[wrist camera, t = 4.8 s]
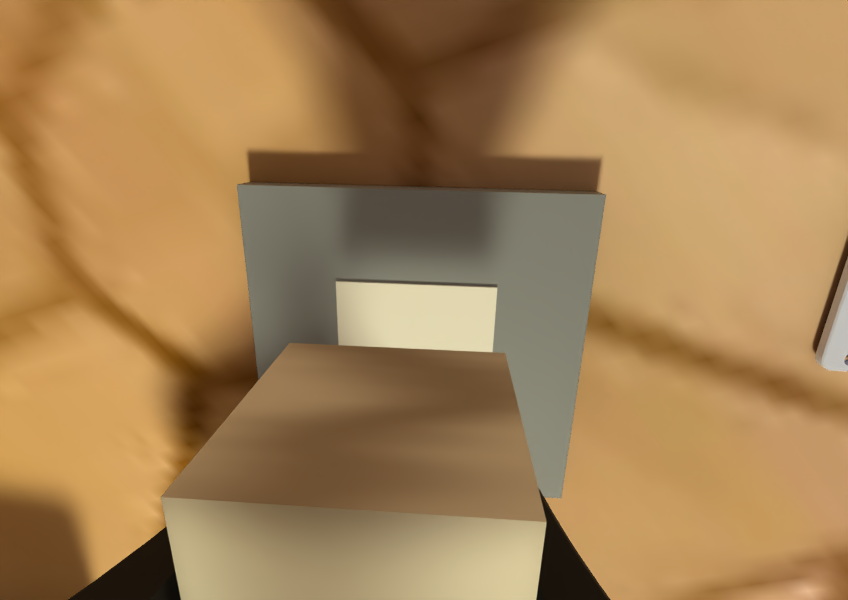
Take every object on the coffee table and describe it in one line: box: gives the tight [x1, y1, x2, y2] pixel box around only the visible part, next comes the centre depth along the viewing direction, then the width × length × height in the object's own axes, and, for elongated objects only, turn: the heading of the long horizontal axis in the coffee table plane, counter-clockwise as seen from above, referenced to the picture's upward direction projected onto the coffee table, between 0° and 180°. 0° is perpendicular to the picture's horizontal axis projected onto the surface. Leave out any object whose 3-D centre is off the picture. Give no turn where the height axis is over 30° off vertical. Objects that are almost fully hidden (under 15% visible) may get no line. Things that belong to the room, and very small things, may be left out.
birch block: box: [161, 343, 547, 600], centre depth 9 cm, size 5×5×5 cm
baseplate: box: [237, 182, 606, 498], centre depth 17 cm, size 12×12×1 cm
